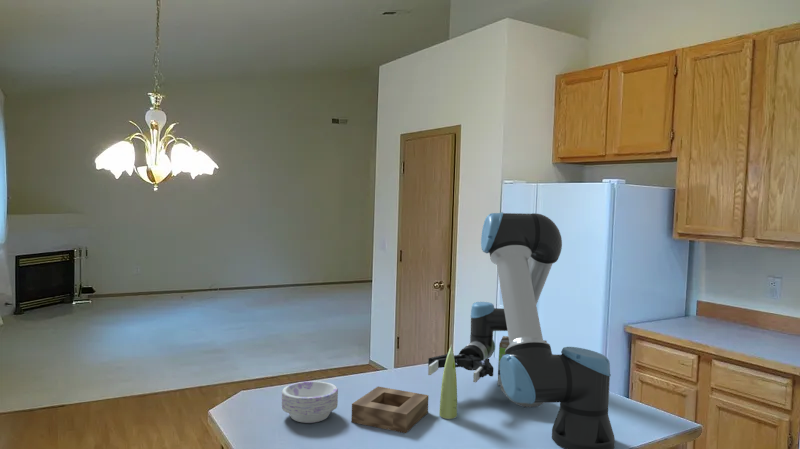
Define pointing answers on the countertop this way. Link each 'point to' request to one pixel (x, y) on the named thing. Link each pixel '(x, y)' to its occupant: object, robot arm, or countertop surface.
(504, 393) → the dish
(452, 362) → the tube
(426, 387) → the countertop surface
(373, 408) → the socket block
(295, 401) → the paper bowls
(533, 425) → the countertop surface
